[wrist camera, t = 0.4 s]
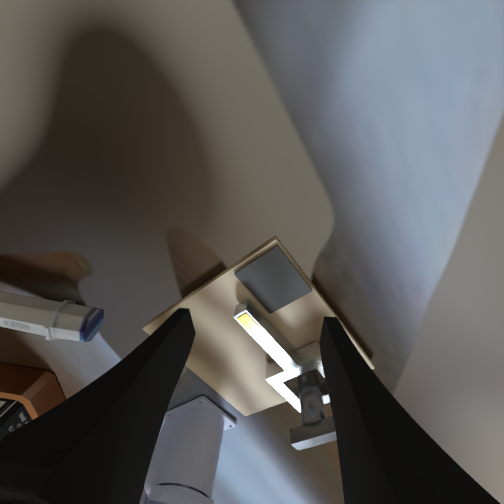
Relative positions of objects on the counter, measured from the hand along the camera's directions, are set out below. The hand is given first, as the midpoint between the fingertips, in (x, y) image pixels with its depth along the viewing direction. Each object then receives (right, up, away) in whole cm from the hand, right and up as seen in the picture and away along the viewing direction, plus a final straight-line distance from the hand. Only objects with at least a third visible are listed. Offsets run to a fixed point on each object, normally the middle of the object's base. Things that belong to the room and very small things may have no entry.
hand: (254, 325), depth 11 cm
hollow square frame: (+4, -7, +13) cm, 15 cm away
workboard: (+1, -7, +15) cm, 16 cm away
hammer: (+7, -10, +14) cm, 19 cm away
